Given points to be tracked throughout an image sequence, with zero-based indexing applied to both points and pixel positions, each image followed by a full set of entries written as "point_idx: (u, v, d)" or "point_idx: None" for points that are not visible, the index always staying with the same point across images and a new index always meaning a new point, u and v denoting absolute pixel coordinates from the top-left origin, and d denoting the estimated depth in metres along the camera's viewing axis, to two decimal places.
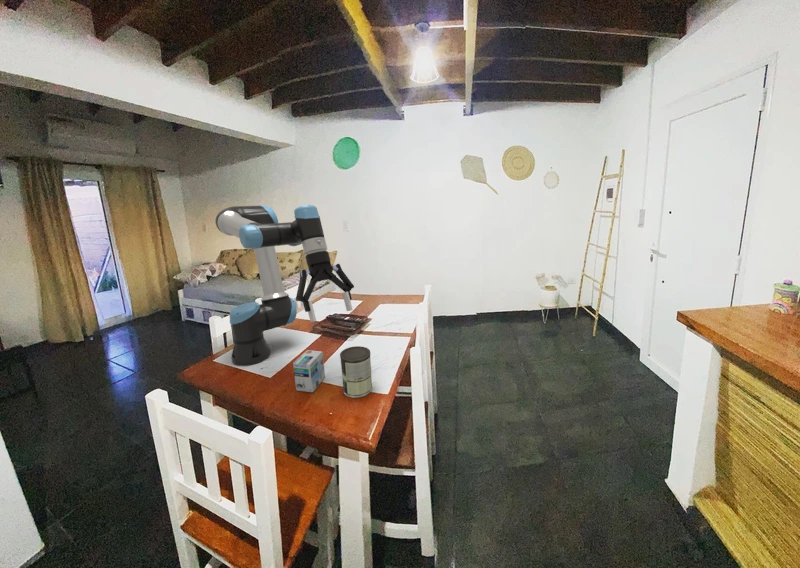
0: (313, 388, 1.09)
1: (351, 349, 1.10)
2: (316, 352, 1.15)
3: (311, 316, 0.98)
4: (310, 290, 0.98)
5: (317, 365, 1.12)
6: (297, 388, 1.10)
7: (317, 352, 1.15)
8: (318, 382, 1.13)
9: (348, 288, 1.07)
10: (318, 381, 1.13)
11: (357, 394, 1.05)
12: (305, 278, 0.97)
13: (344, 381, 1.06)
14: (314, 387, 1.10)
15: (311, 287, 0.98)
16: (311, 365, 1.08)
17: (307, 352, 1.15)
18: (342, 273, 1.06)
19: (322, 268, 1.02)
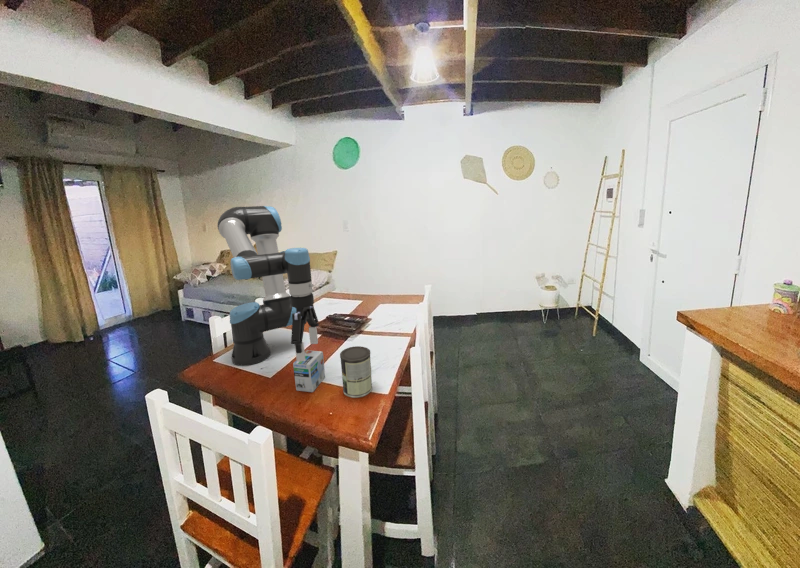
0: (313, 388, 1.09)
1: (351, 349, 1.10)
2: (316, 352, 1.15)
3: (301, 356, 1.04)
4: (302, 332, 1.03)
5: (317, 365, 1.12)
6: (297, 388, 1.10)
7: (317, 352, 1.15)
8: (318, 382, 1.13)
9: (316, 323, 1.17)
10: (318, 381, 1.13)
11: (357, 394, 1.05)
12: (300, 322, 1.02)
13: (344, 381, 1.06)
14: (314, 387, 1.10)
15: (302, 329, 1.03)
16: (311, 365, 1.08)
17: (307, 352, 1.15)
18: (313, 310, 1.15)
19: (306, 309, 1.07)
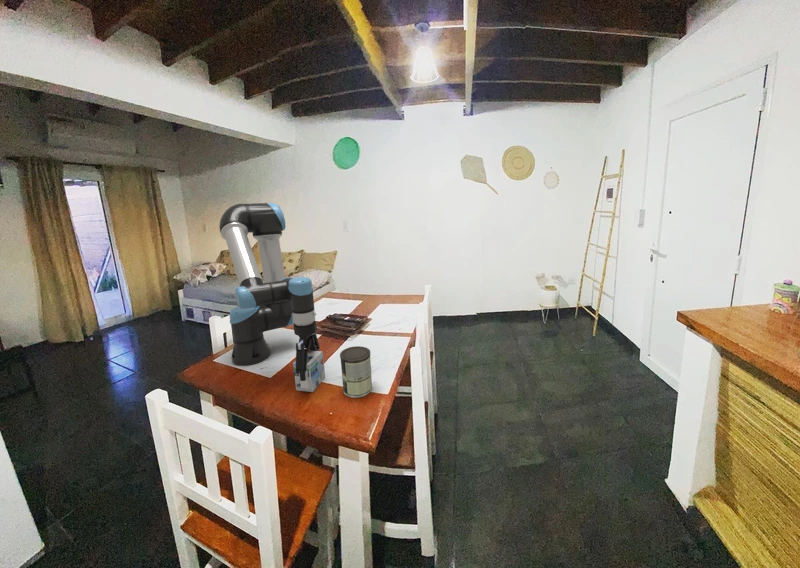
0: (313, 388, 1.09)
1: (351, 349, 1.10)
2: (316, 352, 1.15)
3: (305, 384, 1.08)
4: (306, 360, 1.07)
5: (317, 365, 1.12)
6: (297, 388, 1.10)
7: (317, 352, 1.15)
8: (318, 382, 1.13)
9: None
10: (318, 381, 1.13)
11: (357, 394, 1.05)
12: (304, 351, 1.05)
13: (344, 381, 1.06)
14: (314, 387, 1.10)
15: (306, 357, 1.07)
16: (311, 365, 1.08)
17: None
18: (316, 337, 1.17)
19: (309, 335, 1.10)
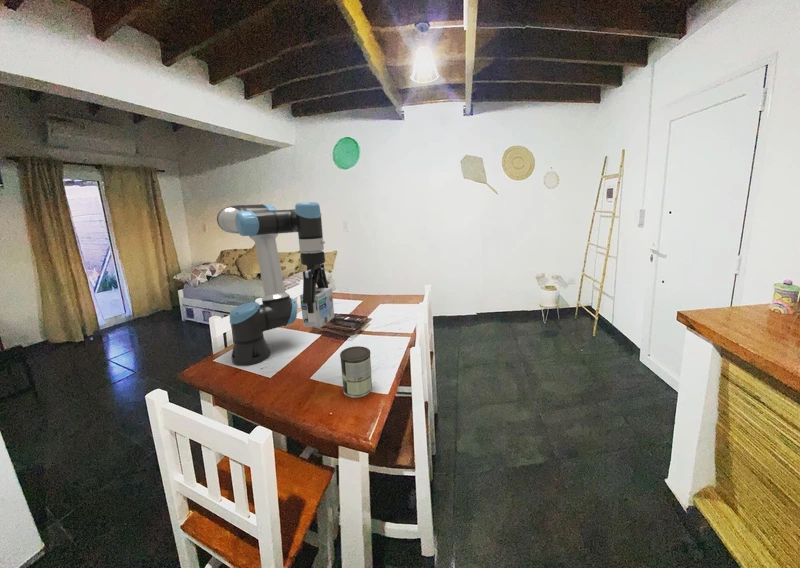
0: (322, 323, 1.01)
1: (351, 349, 1.10)
2: (325, 288, 1.08)
3: (313, 317, 1.00)
4: (314, 292, 0.99)
5: (326, 300, 1.04)
6: (304, 323, 1.02)
7: (326, 288, 1.08)
8: (327, 319, 1.05)
9: None
10: (327, 318, 1.05)
11: (357, 394, 1.05)
12: (311, 280, 0.97)
13: (344, 381, 1.06)
14: (323, 322, 1.02)
15: (314, 288, 0.99)
16: (319, 297, 1.00)
17: None
18: (324, 273, 1.09)
19: (317, 267, 1.02)
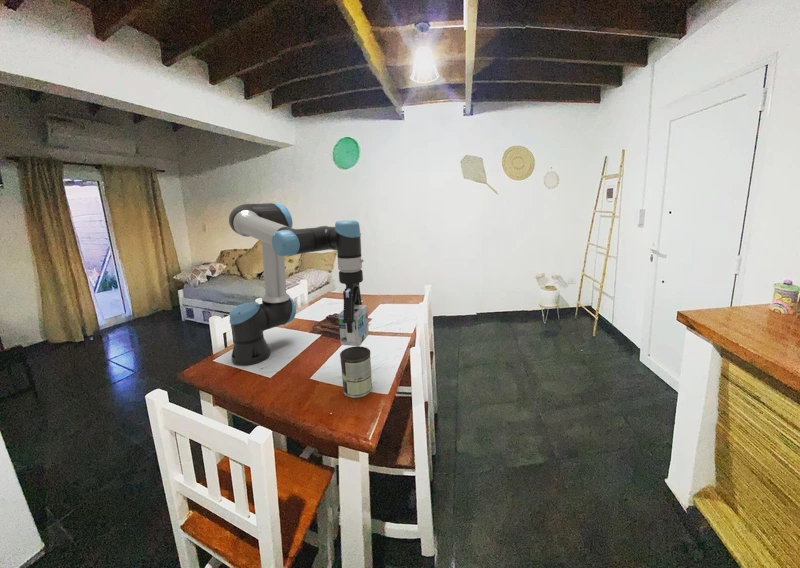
0: (360, 342, 1.01)
1: (351, 349, 1.10)
2: (360, 306, 1.07)
3: (351, 336, 0.99)
4: (353, 311, 0.98)
5: (363, 318, 1.03)
6: (342, 342, 1.01)
7: (361, 306, 1.07)
8: (363, 337, 1.04)
9: None
10: (364, 336, 1.04)
11: (357, 394, 1.05)
12: (352, 299, 0.96)
13: (344, 381, 1.06)
14: (360, 341, 1.01)
15: (353, 308, 0.98)
16: (358, 316, 0.99)
17: None
18: (359, 290, 1.08)
19: (355, 285, 1.01)
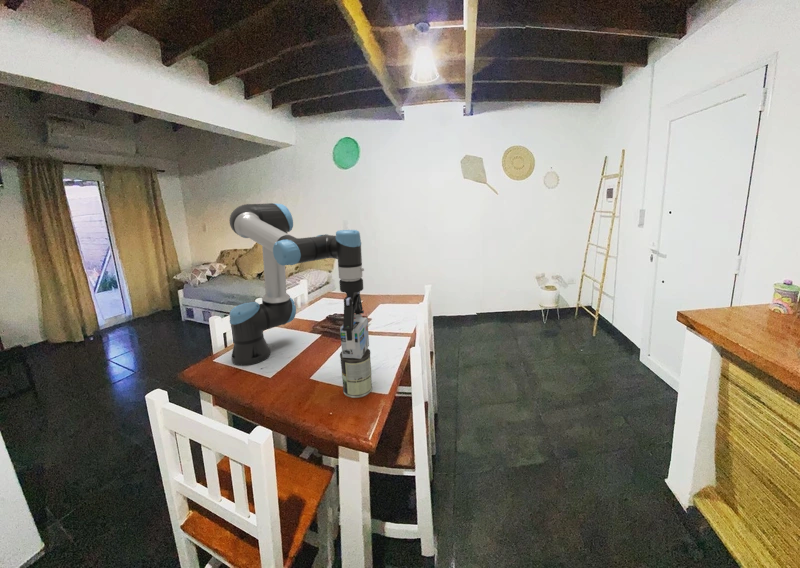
0: (361, 354, 1.03)
1: None
2: (361, 318, 1.09)
3: (351, 344, 0.99)
4: (353, 319, 0.98)
5: (364, 331, 1.05)
6: (344, 355, 1.03)
7: (362, 318, 1.09)
8: (364, 349, 1.06)
9: (361, 311, 1.11)
10: (365, 348, 1.06)
11: (357, 394, 1.05)
12: (352, 307, 0.96)
13: (344, 381, 1.06)
14: (362, 354, 1.03)
15: (353, 315, 0.98)
16: (360, 329, 1.01)
17: None
18: (360, 297, 1.09)
19: (355, 294, 1.02)
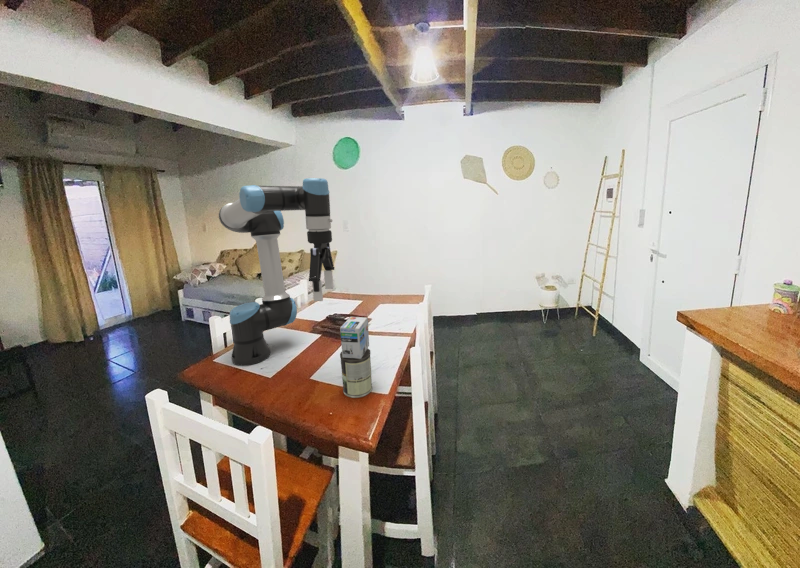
0: (361, 354, 1.03)
1: None
2: (361, 318, 1.09)
3: (318, 296, 0.97)
4: (320, 270, 0.96)
5: (364, 331, 1.05)
6: (344, 355, 1.03)
7: (362, 318, 1.09)
8: (364, 349, 1.06)
9: (332, 267, 1.09)
10: (365, 348, 1.06)
11: (357, 394, 1.05)
12: (319, 257, 0.94)
13: (344, 381, 1.06)
14: (362, 354, 1.03)
15: (321, 267, 0.96)
16: (360, 329, 1.01)
17: (351, 318, 1.08)
18: (330, 252, 1.07)
19: (324, 247, 1.00)
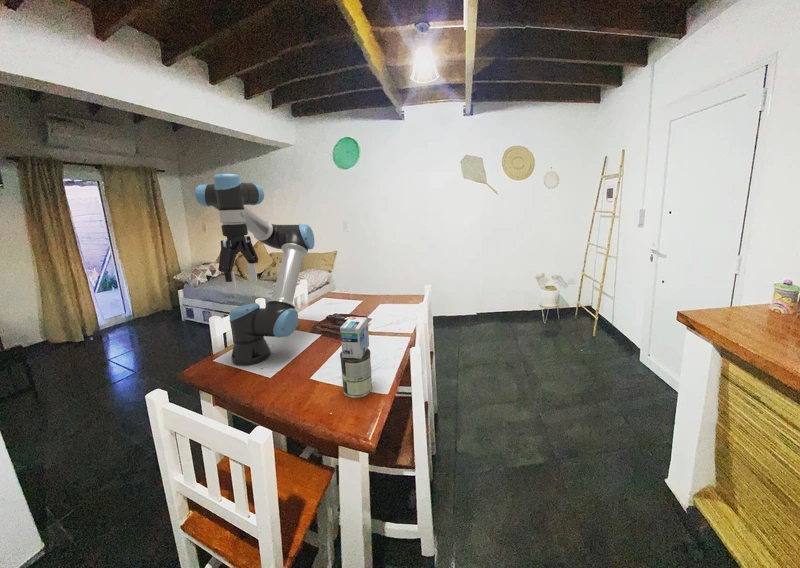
0: (361, 354, 1.03)
1: None
2: (361, 318, 1.09)
3: (231, 286, 1.01)
4: (233, 261, 1.01)
5: (364, 331, 1.05)
6: (344, 355, 1.03)
7: (362, 318, 1.09)
8: (364, 349, 1.06)
9: (255, 260, 1.14)
10: (365, 348, 1.06)
11: (357, 394, 1.05)
12: (229, 249, 0.99)
13: (344, 381, 1.06)
14: (362, 354, 1.03)
15: (233, 258, 1.01)
16: (360, 329, 1.01)
17: (351, 318, 1.08)
18: (251, 245, 1.12)
19: (239, 240, 1.05)
